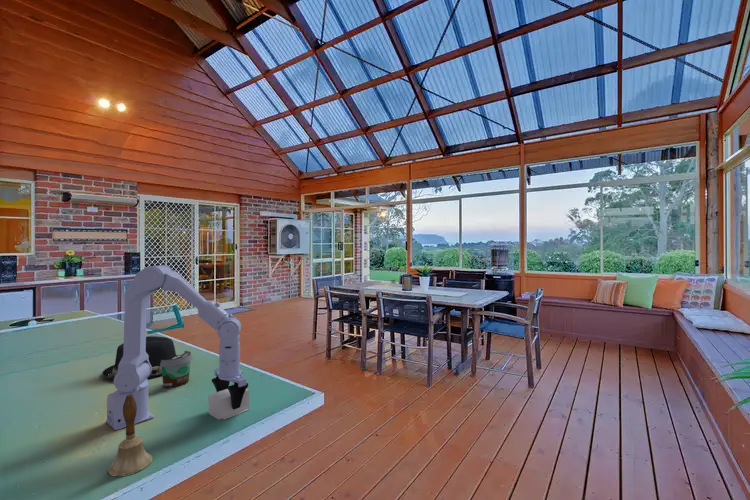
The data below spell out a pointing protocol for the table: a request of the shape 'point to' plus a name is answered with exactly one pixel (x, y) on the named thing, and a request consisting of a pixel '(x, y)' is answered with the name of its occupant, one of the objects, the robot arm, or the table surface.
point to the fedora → (156, 351)
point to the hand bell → (130, 445)
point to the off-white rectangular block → (225, 404)
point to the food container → (176, 370)
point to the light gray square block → (235, 414)
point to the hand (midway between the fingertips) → (229, 404)
